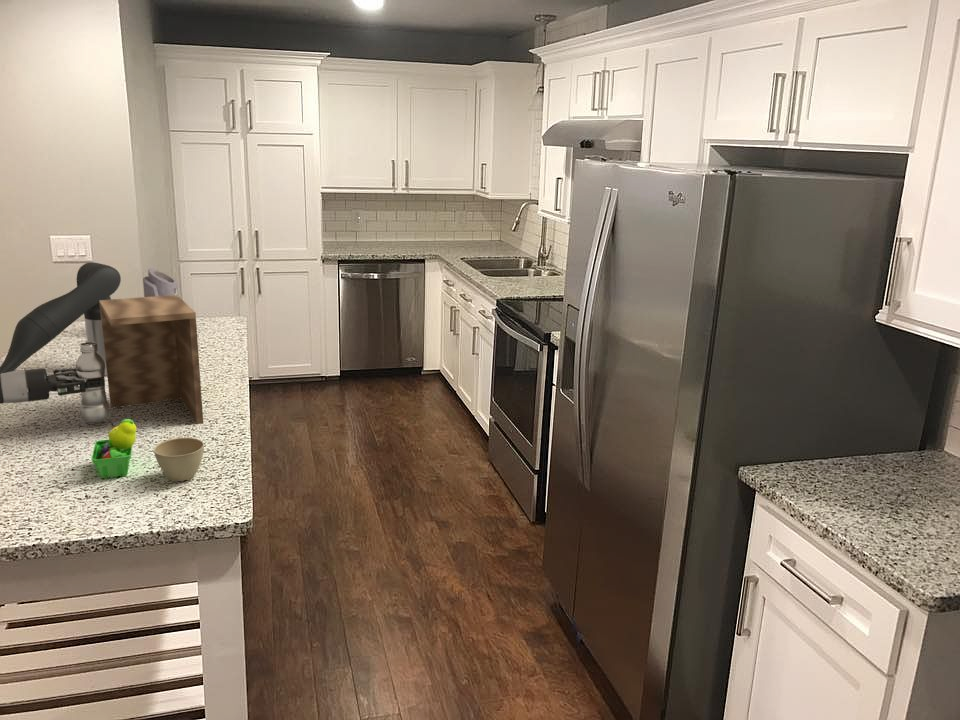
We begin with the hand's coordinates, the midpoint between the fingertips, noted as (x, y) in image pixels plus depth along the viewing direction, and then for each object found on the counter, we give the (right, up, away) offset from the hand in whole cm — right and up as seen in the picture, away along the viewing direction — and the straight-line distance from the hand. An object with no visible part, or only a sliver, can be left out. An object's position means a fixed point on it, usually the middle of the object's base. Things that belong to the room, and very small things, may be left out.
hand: (102, 377), depth 189 cm
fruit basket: (+14, -20, -22) cm, 33 cm away
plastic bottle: (-3, -11, +2) cm, 11 cm away
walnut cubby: (+9, -10, +10) cm, 17 cm away
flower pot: (+29, -21, -25) cm, 44 cm away
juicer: (-25, +13, +85) cm, 89 cm away
